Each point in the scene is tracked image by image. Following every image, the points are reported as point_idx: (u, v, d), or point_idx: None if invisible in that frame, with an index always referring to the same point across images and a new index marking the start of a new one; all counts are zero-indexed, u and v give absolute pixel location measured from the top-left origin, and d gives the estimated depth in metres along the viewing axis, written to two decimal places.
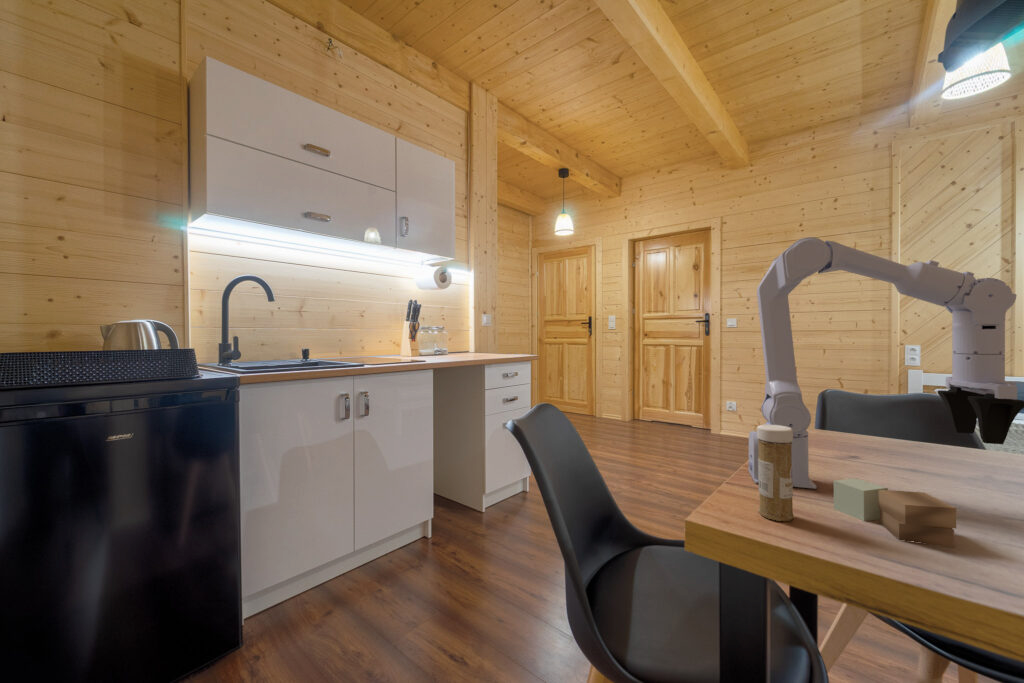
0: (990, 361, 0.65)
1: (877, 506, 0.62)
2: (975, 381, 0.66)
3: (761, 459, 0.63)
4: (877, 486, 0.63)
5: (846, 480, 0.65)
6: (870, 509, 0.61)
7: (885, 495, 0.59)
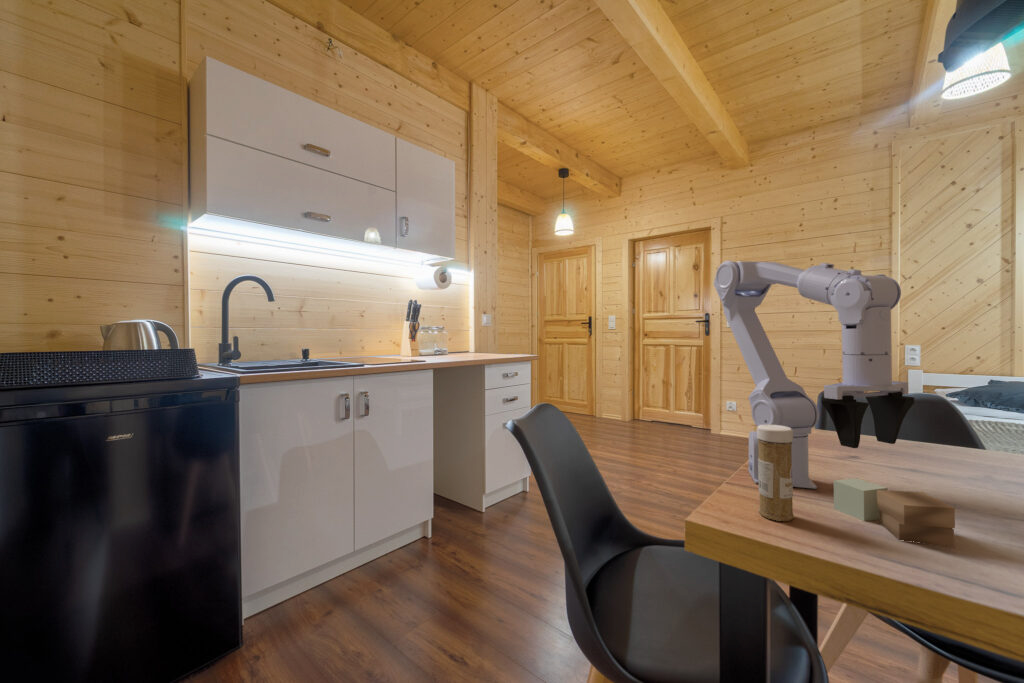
0: (853, 362, 0.63)
1: None
2: (844, 382, 0.64)
3: (761, 459, 0.63)
4: (877, 486, 0.63)
5: (846, 480, 0.65)
6: (870, 509, 0.61)
7: (883, 496, 0.59)
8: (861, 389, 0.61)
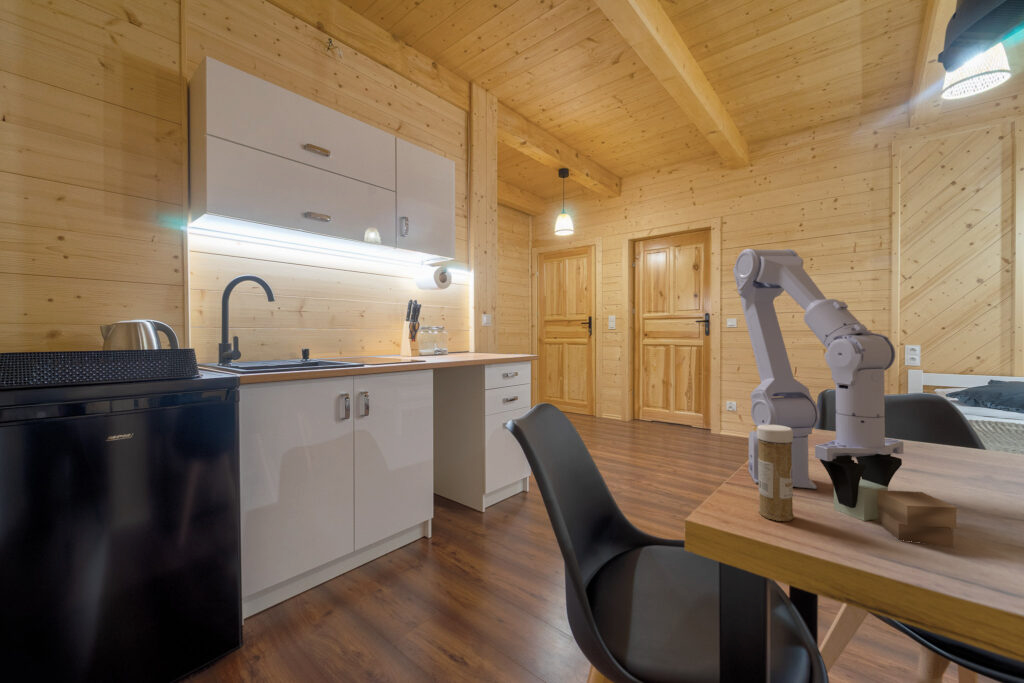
0: (845, 422, 0.63)
1: (877, 505, 0.62)
2: (837, 441, 0.64)
3: (761, 459, 0.63)
4: (877, 485, 0.63)
5: None
6: (871, 509, 0.61)
7: (884, 496, 0.58)
8: (852, 451, 0.61)
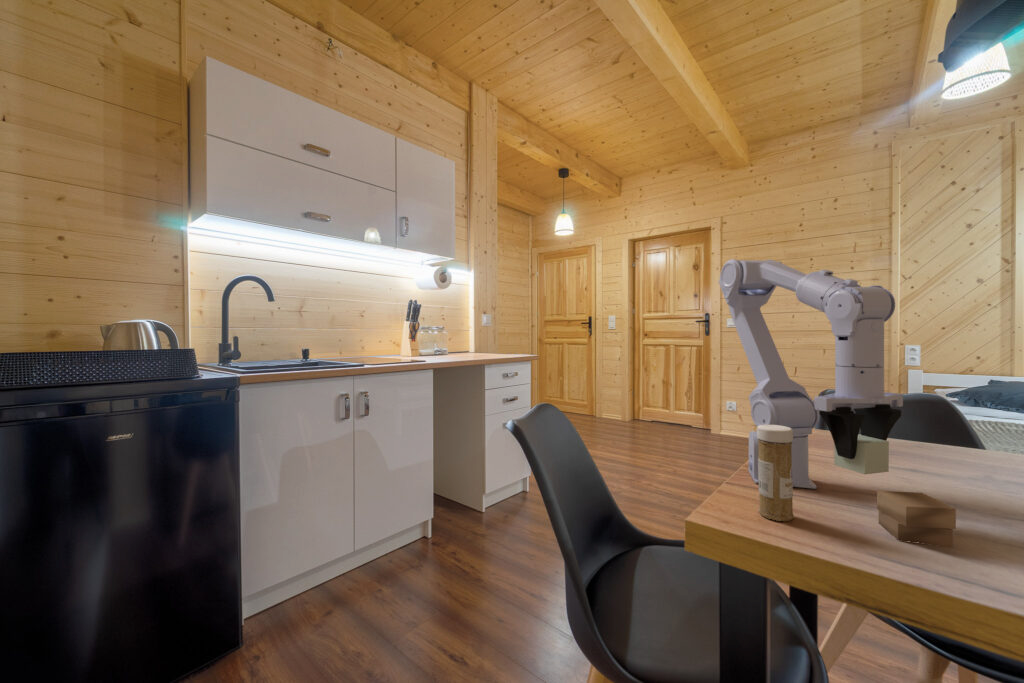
0: (845, 374, 0.63)
1: (878, 459, 0.61)
2: (836, 393, 0.64)
3: (761, 459, 0.63)
4: (878, 440, 0.62)
5: None
6: (871, 462, 0.61)
7: (884, 497, 0.58)
8: (851, 401, 0.61)
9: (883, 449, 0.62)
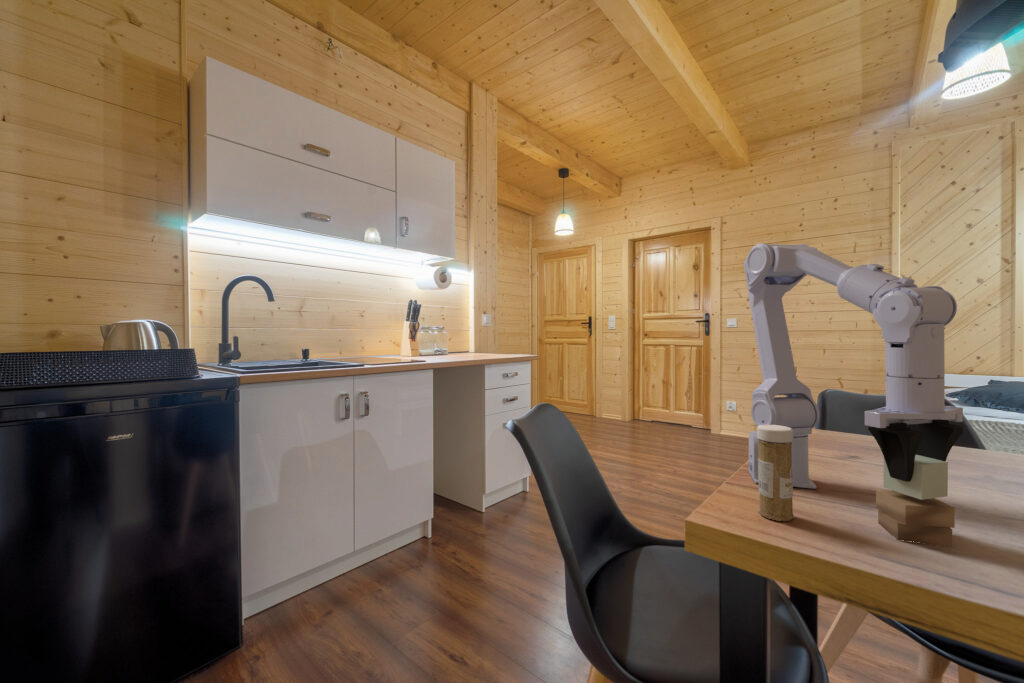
0: (899, 385, 0.56)
1: (936, 483, 0.55)
2: (888, 407, 0.57)
3: (761, 459, 0.63)
4: (935, 460, 0.56)
5: None
6: (929, 486, 0.54)
7: (883, 496, 0.59)
8: (908, 417, 0.54)
9: (942, 471, 0.55)
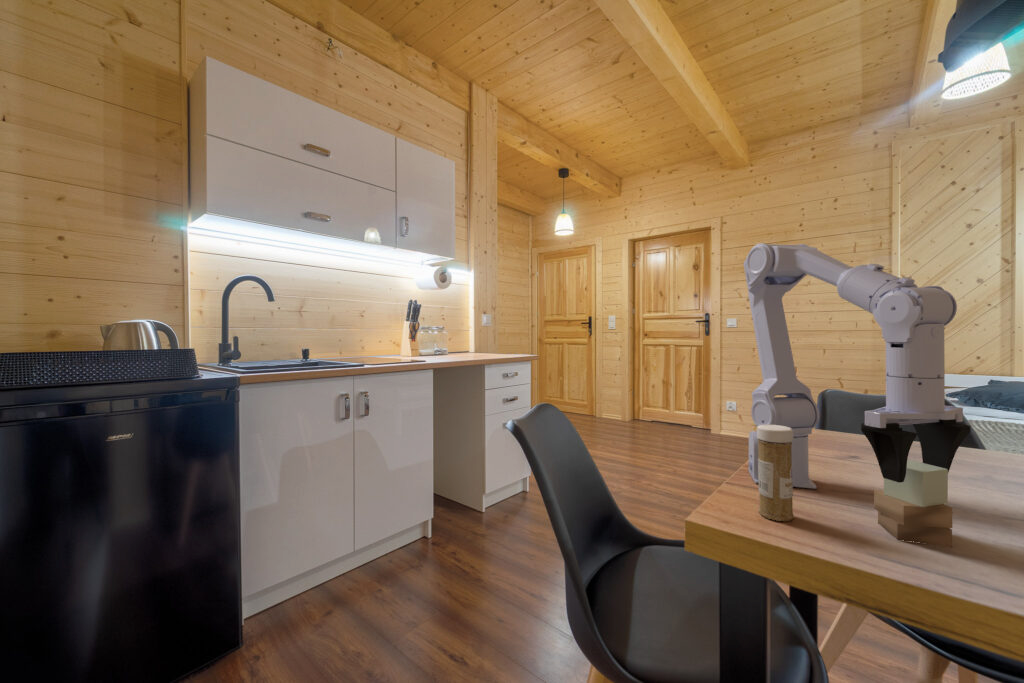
0: (899, 385, 0.56)
1: (937, 490, 0.55)
2: (888, 407, 0.57)
3: (761, 459, 0.63)
4: (935, 467, 0.56)
5: None
6: (929, 493, 0.54)
7: (881, 496, 0.59)
8: (908, 417, 0.54)
9: (942, 478, 0.55)
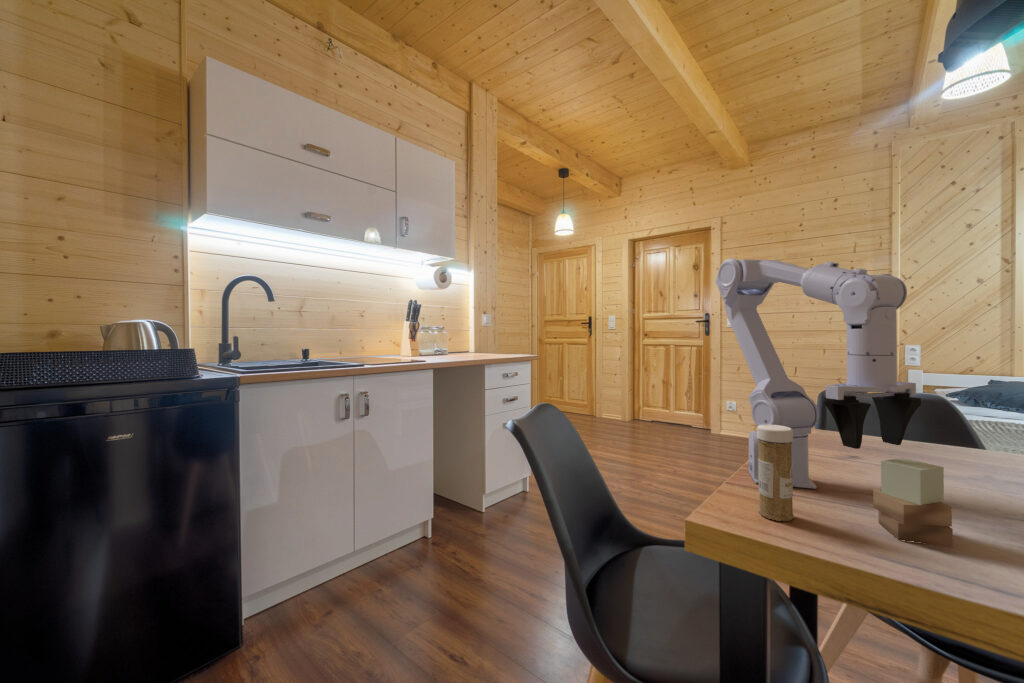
0: (857, 362, 0.62)
1: (933, 488, 0.55)
2: (848, 382, 0.64)
3: (761, 459, 0.63)
4: (931, 465, 0.56)
5: (894, 460, 0.59)
6: (927, 491, 0.55)
7: (880, 495, 0.59)
8: (863, 390, 0.61)
9: (938, 476, 0.55)
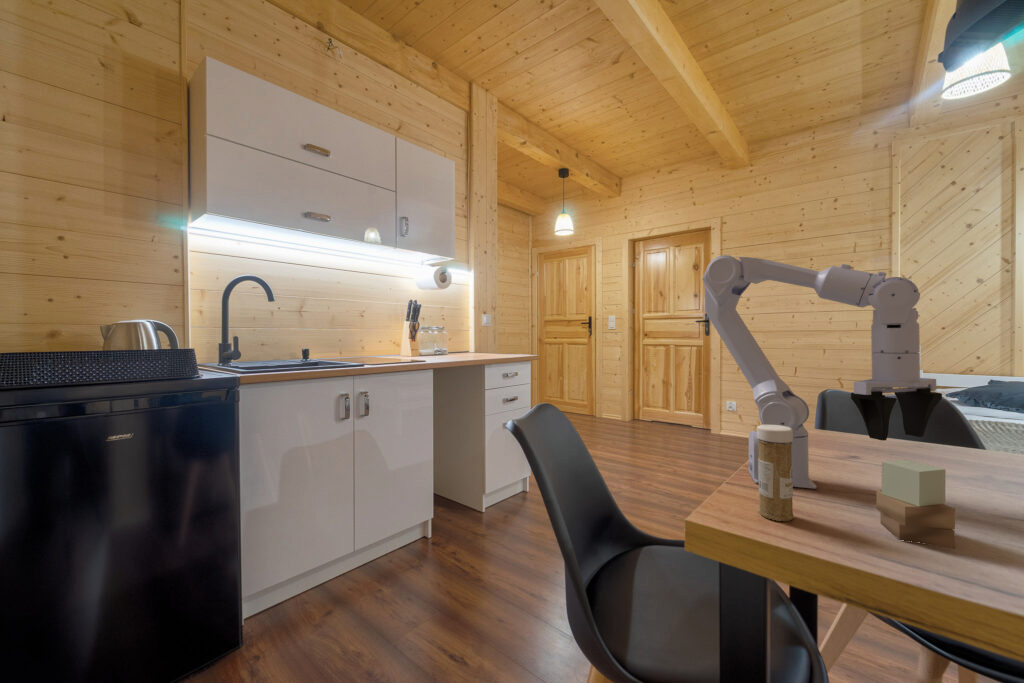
0: (882, 360, 0.67)
1: (934, 490, 0.55)
2: (873, 379, 0.68)
3: (761, 459, 0.63)
4: (933, 467, 0.56)
5: (896, 461, 0.59)
6: (927, 493, 0.55)
7: (883, 497, 0.59)
8: (889, 385, 0.65)
9: (939, 478, 0.55)
